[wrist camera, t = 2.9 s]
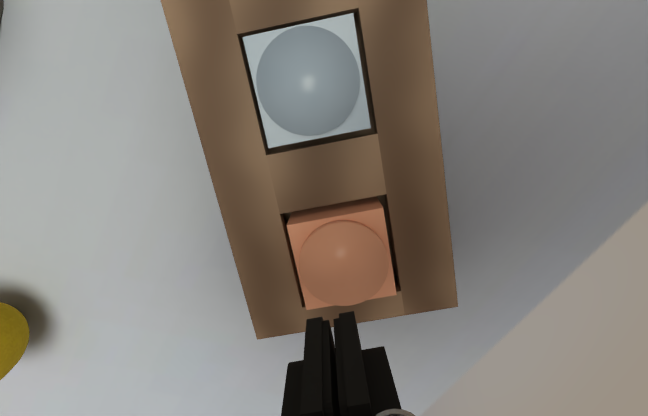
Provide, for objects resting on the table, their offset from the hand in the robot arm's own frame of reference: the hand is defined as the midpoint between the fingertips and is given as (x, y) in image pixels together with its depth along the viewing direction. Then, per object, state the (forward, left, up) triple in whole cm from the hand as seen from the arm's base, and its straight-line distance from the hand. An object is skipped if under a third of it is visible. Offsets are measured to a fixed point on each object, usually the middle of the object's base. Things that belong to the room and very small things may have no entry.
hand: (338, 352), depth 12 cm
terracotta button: (-1, 0, -9) cm, 9 cm away
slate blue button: (-1, -9, -9) cm, 13 cm away
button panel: (-1, -9, -12) cm, 15 cm away
